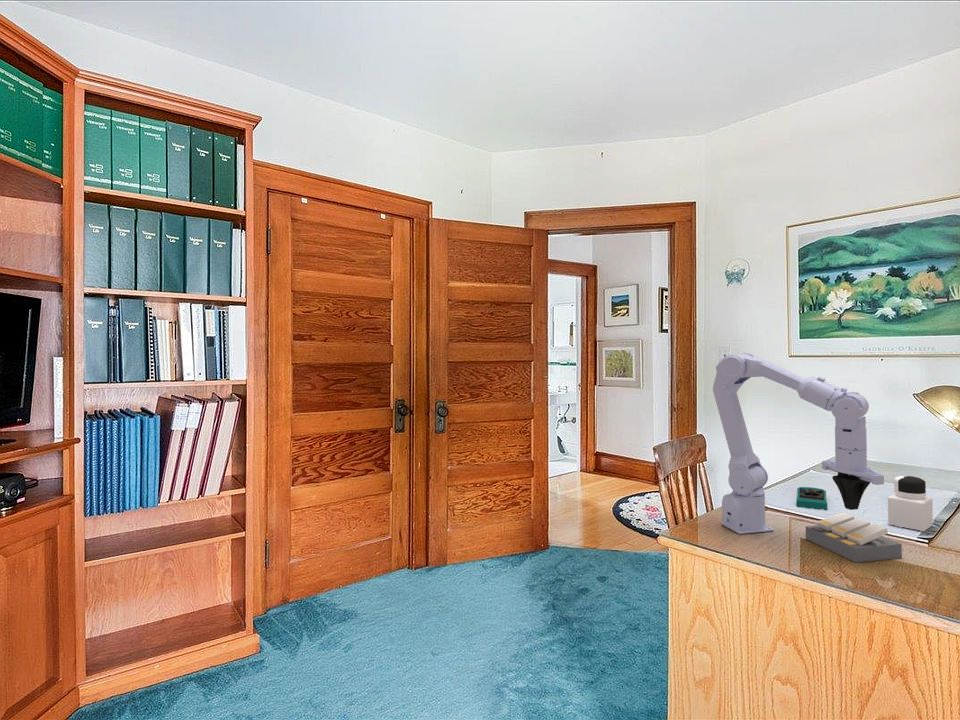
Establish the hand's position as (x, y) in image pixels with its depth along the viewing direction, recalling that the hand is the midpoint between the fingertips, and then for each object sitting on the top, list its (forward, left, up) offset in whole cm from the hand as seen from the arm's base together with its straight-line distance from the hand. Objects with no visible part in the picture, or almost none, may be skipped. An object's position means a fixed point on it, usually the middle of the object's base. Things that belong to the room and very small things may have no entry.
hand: (851, 508), depth 117 cm
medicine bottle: (+26, +10, -10) cm, 29 cm away
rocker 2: (+1, +1, -5) cm, 5 cm away
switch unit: (+1, +1, -9) cm, 9 cm away
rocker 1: (+1, +5, -5) cm, 7 cm away
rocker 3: (+1, -3, -5) cm, 6 cm away
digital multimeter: (+18, +33, -10) cm, 39 cm away
